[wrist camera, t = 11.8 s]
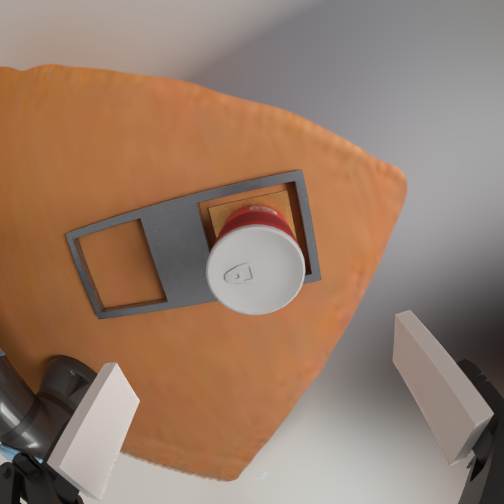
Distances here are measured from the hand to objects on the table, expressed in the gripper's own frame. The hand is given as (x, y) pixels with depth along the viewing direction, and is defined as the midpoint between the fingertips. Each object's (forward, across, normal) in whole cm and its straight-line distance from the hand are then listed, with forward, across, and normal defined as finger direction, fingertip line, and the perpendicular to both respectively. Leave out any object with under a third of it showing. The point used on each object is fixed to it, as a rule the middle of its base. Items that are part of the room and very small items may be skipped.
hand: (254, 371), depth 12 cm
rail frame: (+22, -9, 0) cm, 24 cm away
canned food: (+22, 0, 0) cm, 22 cm away
